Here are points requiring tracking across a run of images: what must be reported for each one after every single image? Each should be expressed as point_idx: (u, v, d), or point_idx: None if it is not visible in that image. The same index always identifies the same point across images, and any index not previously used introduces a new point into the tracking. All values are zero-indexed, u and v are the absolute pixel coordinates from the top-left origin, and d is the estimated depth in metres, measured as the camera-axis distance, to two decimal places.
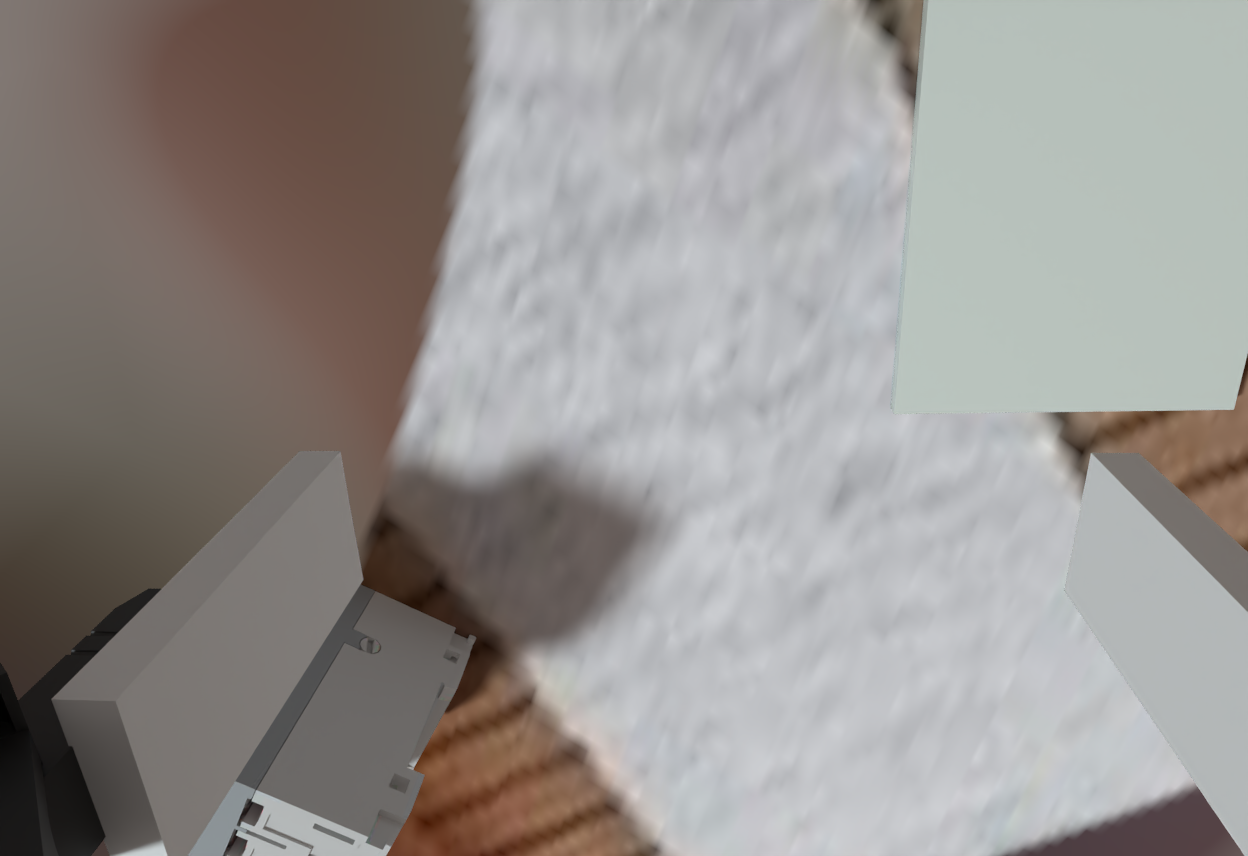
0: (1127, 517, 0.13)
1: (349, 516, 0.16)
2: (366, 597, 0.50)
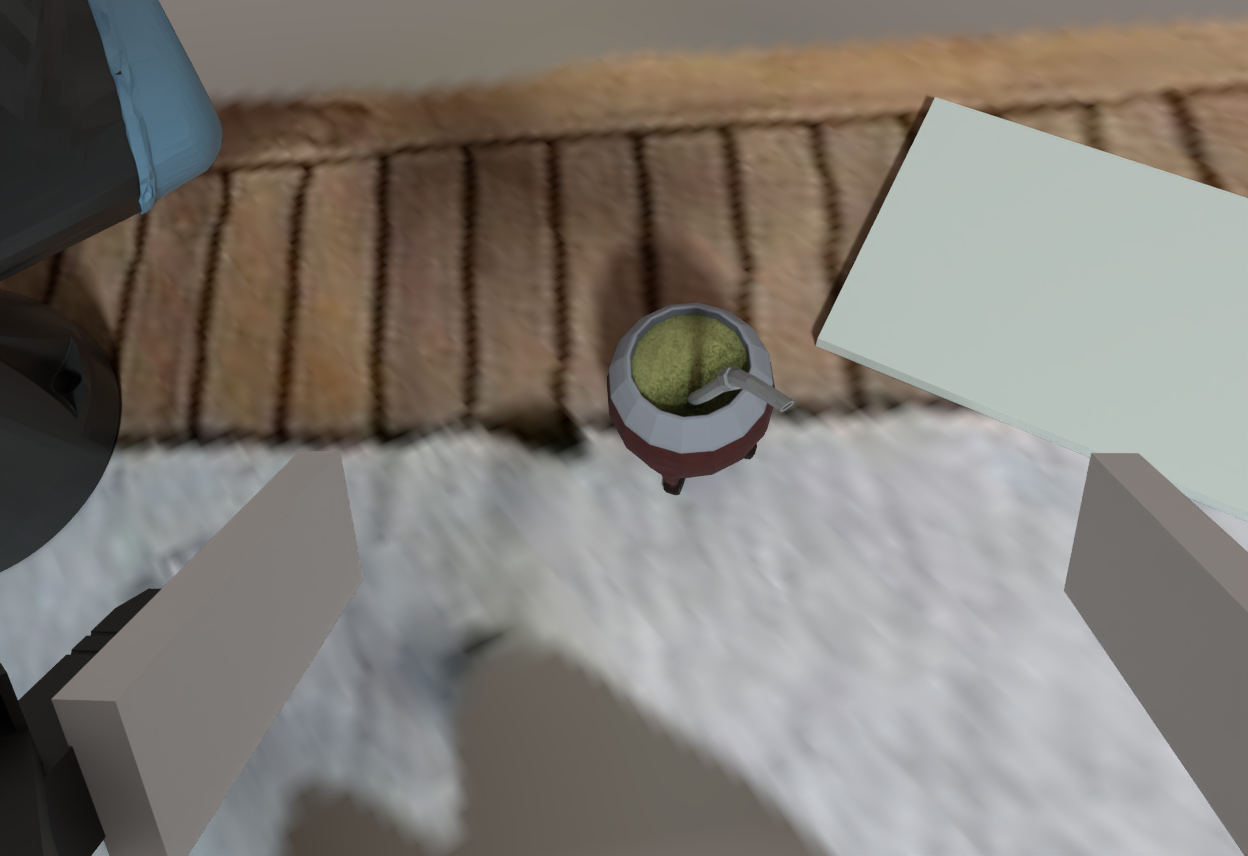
0: (1128, 517, 0.13)
1: (349, 516, 0.16)
2: None
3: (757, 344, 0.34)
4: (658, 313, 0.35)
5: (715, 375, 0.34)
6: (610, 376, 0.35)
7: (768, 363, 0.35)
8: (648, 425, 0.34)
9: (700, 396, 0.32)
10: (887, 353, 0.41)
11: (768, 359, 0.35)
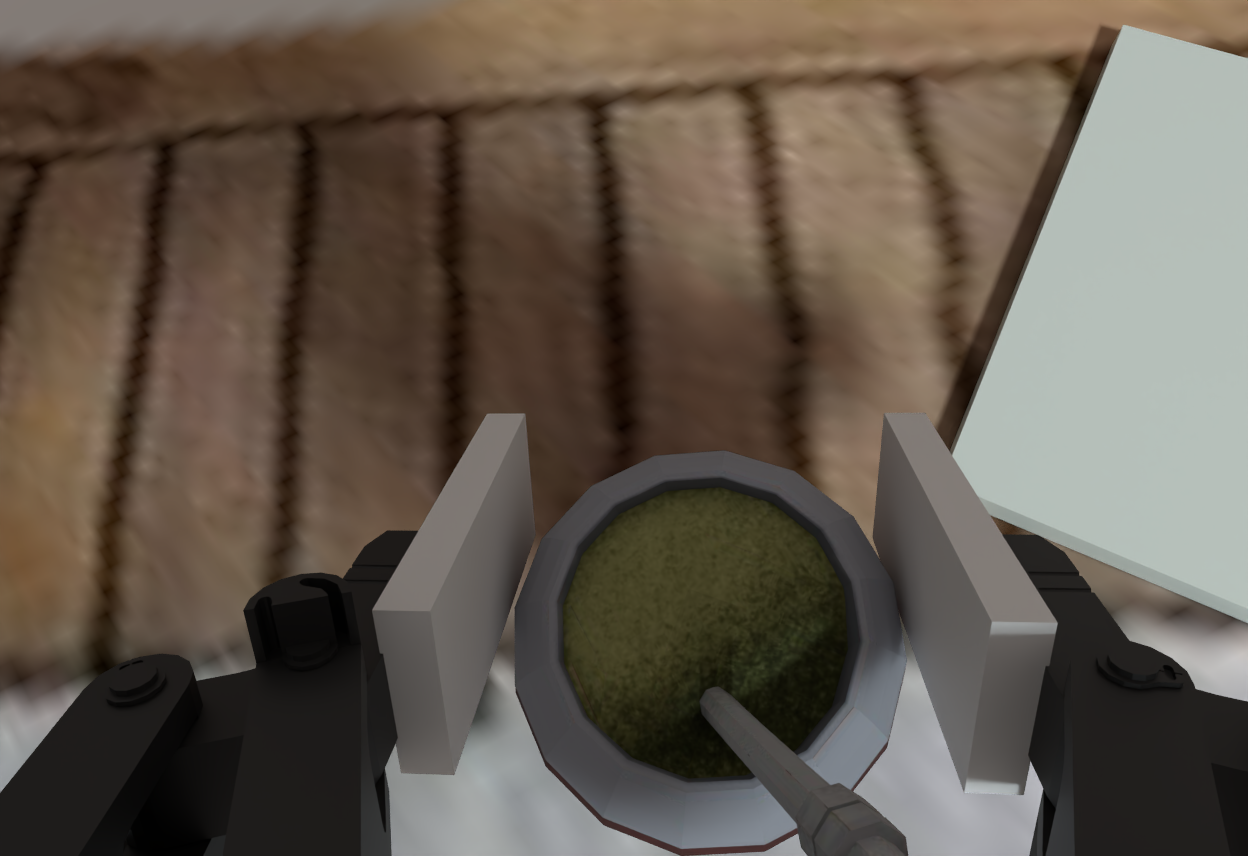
0: (899, 465, 0.15)
1: (528, 474, 0.17)
2: None
3: (871, 571, 0.14)
4: (629, 486, 0.14)
5: (767, 644, 0.14)
6: (515, 632, 0.15)
7: (895, 612, 0.14)
8: (599, 786, 0.13)
9: (734, 749, 0.12)
10: (1084, 514, 0.21)
11: (894, 600, 0.14)
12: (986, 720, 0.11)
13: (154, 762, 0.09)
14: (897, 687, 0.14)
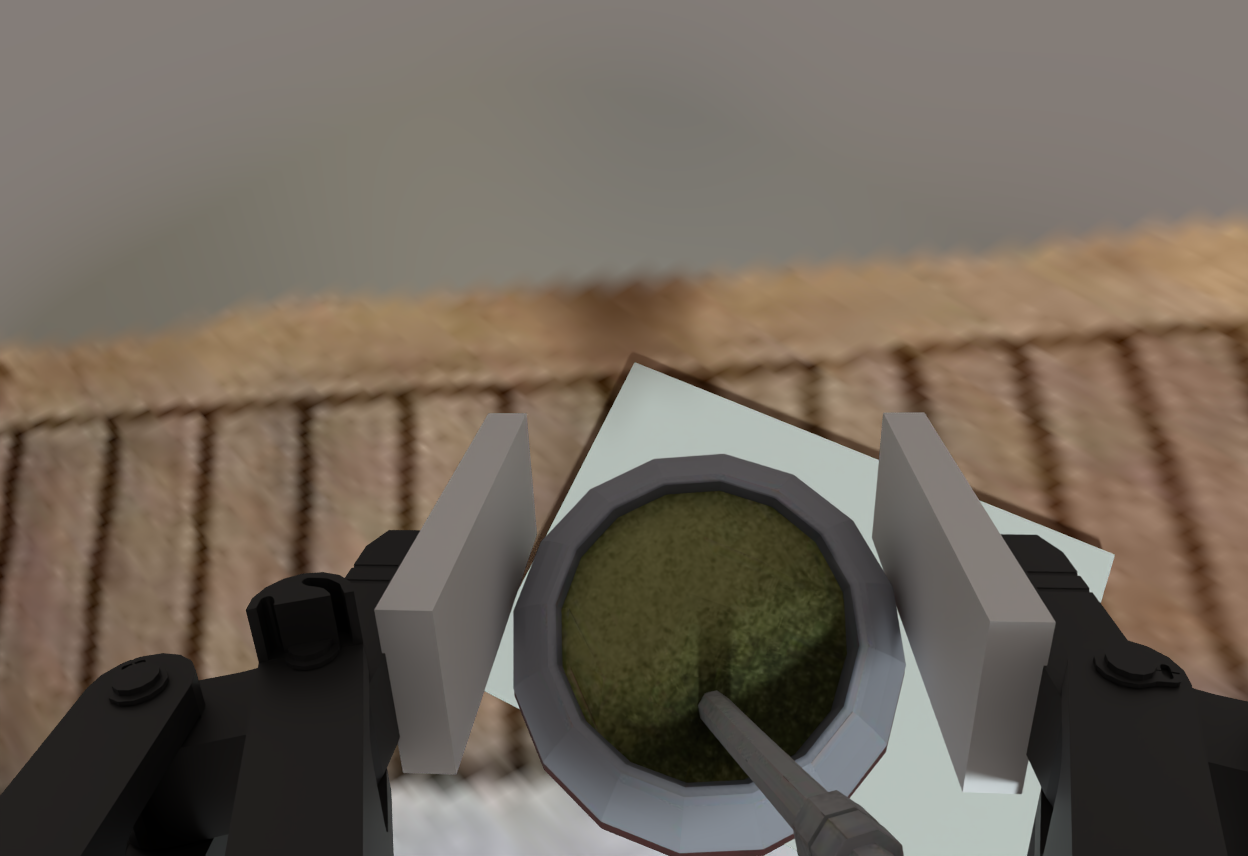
0: (897, 465, 0.15)
1: (529, 474, 0.17)
2: None
3: (870, 575, 0.14)
4: (628, 490, 0.14)
5: (766, 648, 0.14)
6: (514, 635, 0.15)
7: (894, 617, 0.14)
8: (597, 790, 0.13)
9: (732, 754, 0.12)
10: None
11: (893, 605, 0.14)
12: (984, 719, 0.11)
13: (156, 761, 0.09)
14: (896, 692, 0.14)
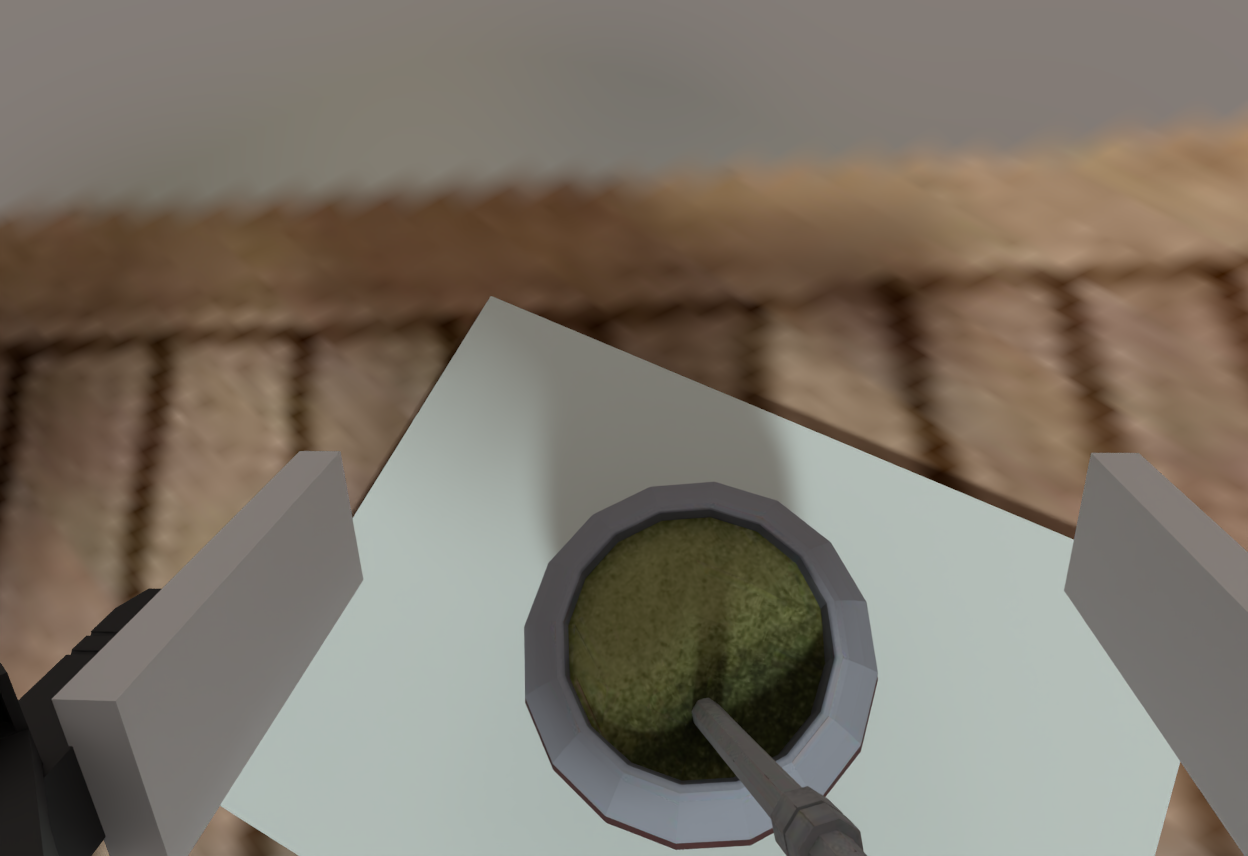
0: (1127, 517, 0.13)
1: (349, 516, 0.16)
2: None
3: (845, 593, 0.16)
4: (627, 517, 0.16)
5: (752, 659, 0.16)
6: (525, 648, 0.16)
7: (867, 630, 0.16)
8: (602, 787, 0.15)
9: (721, 755, 0.13)
10: (301, 823, 0.22)
11: (867, 619, 0.16)
12: None
13: None
14: (869, 697, 0.16)
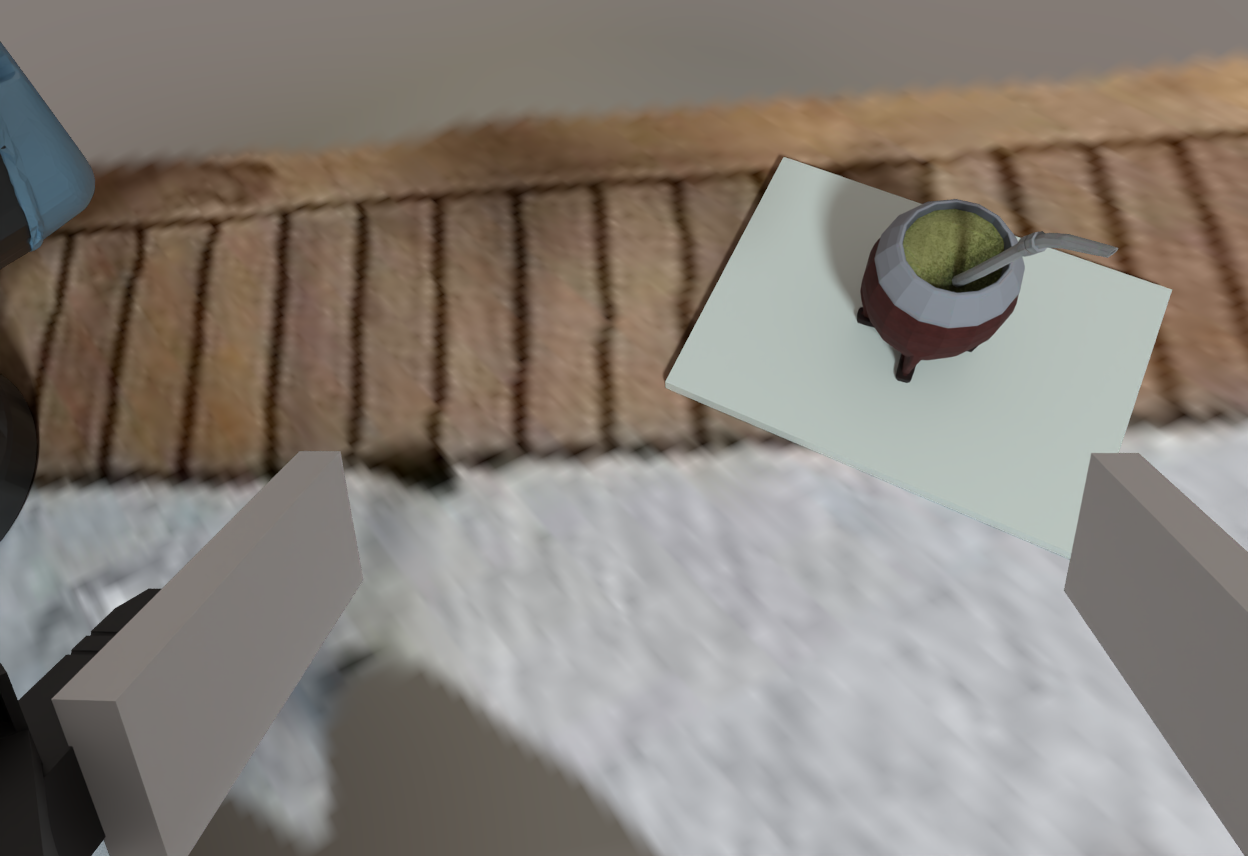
0: (1127, 517, 0.13)
1: (349, 516, 0.16)
2: None
3: None
4: (922, 207, 0.40)
5: (975, 261, 0.39)
6: (878, 263, 0.40)
7: None
8: (921, 302, 0.38)
9: (977, 272, 0.37)
10: (726, 395, 0.45)
11: None
12: None
13: None
14: (1022, 274, 0.39)
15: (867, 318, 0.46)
